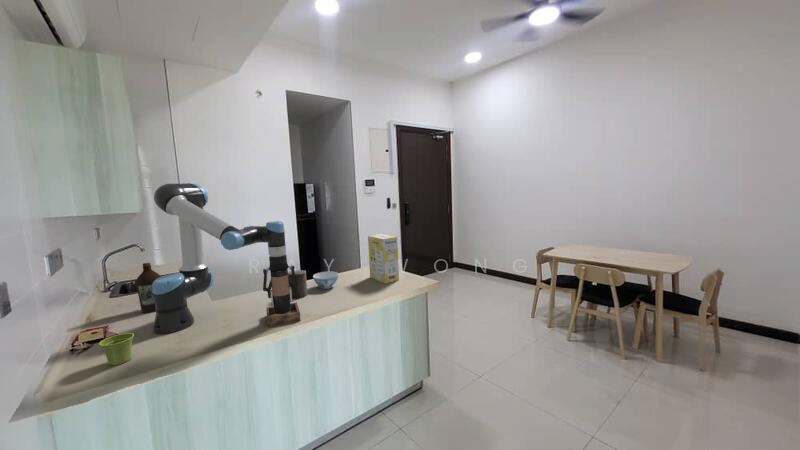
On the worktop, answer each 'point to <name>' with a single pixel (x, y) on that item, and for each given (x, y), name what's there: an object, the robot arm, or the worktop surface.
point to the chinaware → (325, 279)
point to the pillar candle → (299, 283)
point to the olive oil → (146, 288)
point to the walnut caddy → (283, 316)
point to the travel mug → (280, 292)
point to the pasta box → (383, 258)
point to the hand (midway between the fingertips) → (281, 302)
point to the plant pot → (118, 348)
